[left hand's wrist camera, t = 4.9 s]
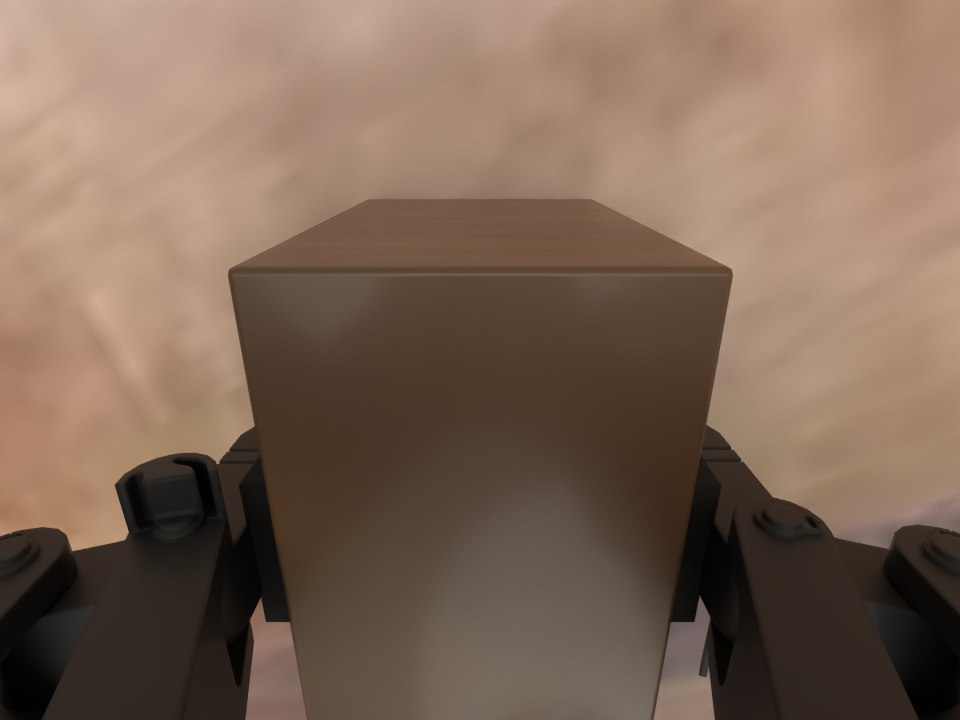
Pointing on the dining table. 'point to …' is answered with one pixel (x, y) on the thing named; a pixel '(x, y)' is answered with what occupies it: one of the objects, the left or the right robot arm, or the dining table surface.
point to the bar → (480, 452)
